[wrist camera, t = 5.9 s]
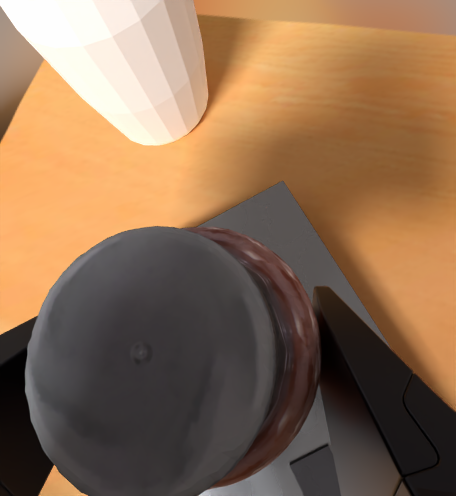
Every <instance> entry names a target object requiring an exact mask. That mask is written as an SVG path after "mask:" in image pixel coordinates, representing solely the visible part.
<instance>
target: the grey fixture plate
mask: <svg viewBox="0 0 456 496" xmlns="http://www.w3.org/2000/svg"><path fill="white" fill-rule="evenodd" d="M198 227H218V228H224V229H230V230H232V231H235V232H238V233H241V234H245V235H247V236H249V237H251V238H253V239H255V240H257V241H259V242H261V243H262V244H263V245H265V246H266V247H267V248H269V249H270V250H271V251H273V252H274V253H275V254H277V255H278V256H279V257H280V258H281V259H282V260H283V261H285V262H286V264H287V265H288V266H289V267H290V268H291V269H292V270H293V272H294V273H295V275H296V276H297V277H298V279H299V281H300V282H301V284H302V286H303V288H304V289H305V291H306V293H307V294H308V297H309V299H310V301H311V304H312V301H313V290H314V287H315V286H328V287H330V288H331V289H332V290H333V291H334V292H335V293H336V294H337V295H338V296H339V297H340V298H341V299H342V300H343V301H344V302H345V303H346V304H347V305H348V306H349V307H350V308H351V309H352V310H353V311H354V312H355V313H356V314H357V315H358V316H359V317H360V318H361V319H362V320H363V321H364V322H365V323H366V324H367V325H368V326H369V327H370V328H371V329H372V330H373V331H374V332H375V333H376V334H377V335H378V336H379V337H380V338H381V339H382V340H383V341H384V342H385V343H386V344H387V345H388V346H389V344H388V343H387V341H386V340H385V338H384V336H383V335H382V333H381V332H380V330H379V329H378V327H377V326H376V324H375V323H374V321H373V319H372V318H371V316H370V315H369V313H368V312H367V310H366V309H365V307H364V305H363V304H362V302H361V301H360V299H359V298H358V296H357V295H356V293H355V291H354V290H353V288H352V287H351V285H350V284H349V282H348V281H347V279H346V278H345V276H344V274H343V273H342V271H341V270H340V268H339V267H338V265H337V264H336V262H335V260H334V259H333V257H332V256H331V254H330V253H329V251H328V250H327V248H326V247H325V245H324V243H323V242H322V240H321V239H320V237H319V236H318V234H317V233H316V231H315V229H314V228H313V226H312V225H311V223H310V222H309V220H308V219H307V217H306V216H305V214H304V212H303V211H302V209H301V208H300V206H299V205H298V203H297V202H296V200H295V198H294V197H293V195H292V194H291V192H290V191H289V189H288V188H287V186H286V185H285V183H284V181H281V182H279V183H278V184H276V185H274V186H272V187H270V188H268V189H266V190H265V191H263V192H261V193H259V194H257V195H255V196H253V197H252V198H250V199H248V200H246V201H244V202H242V203H240V204H239V205H237V206H235V207H233V208H231V209H229V210H227V211H226V212H224V213H222V214H220V215H218V216H216V217H214V218H212V219H211V220H209V221H207V222H205V223H203V224H201V225H199V226H198ZM389 347H390V346H389ZM390 348H391V347H390ZM198 496H341V493H340V488H339V482H338V477H337V472H336V467H335V462H334V457H333V452H332V447H331V442H330V437H329V432H328V426H327V421H326V416H325V411H324V406H323V401H322V396H321V391H320V386H319V385H318V389H317V393H316V397H315V400H314V403H313V406H312V408H311V410H310V412H309V414H308V416H307V419H306V420H305V422H304V424H303V426H302V428H301V430H300V431H299V433H298V434H297V435H296V437H295V438H294V439H293V440H292V442H291V443H290V444H289V446H288V447H287V448H286V449H285V450H284V451H283V452H282V453H281V454H280V455H279V456H278V457H277V458H276V459H275V460H274V461H273V462H272V463H271V464H269V465H268V466H266V467H265V468H263V469H262V470H260V471H259V472H257V473H256V474H254V475H252V476H250V477H248V478H246V479H244V480H242V481H239V482H237V483H234V484H231V485H228V486H225V487H218V488H213V489H209V490H206V491H204V492H203V493H201V494H200V495H198Z"/></svg>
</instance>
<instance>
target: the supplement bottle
mask: <svg viewBox="0 0 456 496" xmlns="http://www.w3.org/2000/svg"><path fill="white" fill-rule="evenodd" d="M27 353H28V356H27V362H26V369H25V393H26V396H27V399H28V404H29V410H30V418H31V422H32V424H33V426H34V429H35V431H36V434H37V436H38V439H39V441H40V444H41V446H42V448H43V451H44V452H45V453H46V455H47V456H48V458H49V459H50V460H51V461H52V462H53V464H54V465H55V466H56V467H57V469H58V471H59V473H61V474H62V475H63V476H64V477H65V478H66V479H67V480H68V481H69V482H70V483H71V484H72V485H74V486H75V487H76V488H77V489H78V490H79V491H80V492H81V493H84V494H86V495H88V496H198V495H200V494H201V493H203V492H204V491H206V490H209V489H213V488H218V487H225V486H228V485H231V484H234V483H237V482H239V481H242V480H244V479H246V478H248V477H250V476H252V475H254V474H256V473H257V472H259V471H260V470H262V469H263V468H265V467H266V466H268V465H269V464H271V463H272V462H273V461H274V460H275V459H276V458H277V457H278V456H279V455H280V454H281V453H282V452H283V451H284V450H285V449H286V448H287V447H288V446H289V444H290V443H291V442H292V440H293V439H294V438H295V437H296V435H297V434H298V433H299V431H300V430H301V428H302V426H303V424H304V422H305V420H306V419H307V416H308V414H309V412H310V410H311V408H312V406H313V403H314V400H315V397H316V393H317V389H318V385H319V378H320V374H321V361H322V348H321V337H320V331H319V325H318V322H317V318H316V315H315V313H314V310H313V307H312V304H311V301H310V299H309V297H308V294H307V293H306V291H305V289H304V288H303V286H302V284H301V282H300V281H299V279H298V277H297V276H296V275H295V273H294V272H293V270H292V269H291V268H290V267H289V266H288V265H287V264H286V262H285V261H283V260H282V259H281V258H280V257H279V256H278V255H277V254H275V253H274V252H273V251H271V250H270V249H269V248H267V247H266V246H265V245H263V244H262V243H261V242H259V241H257V240H255V239H253V238H251V237H249V236H247V235H245V234H241V233H238V232H235V231H232V230H230V229H224V228H218V227H192V228H182V229H179V228H175V227H160V226H155V227H145V228H139V229H132V230H128V231H124V232H121V233H118V234H116V235H114V236H111V237H109V238H107V239H105V240H103V241H102V242H100V243H98V244H97V245H95V246H94V247H92V248H91V249H89V250H88V251H87V252H86V253H84V254H82V255H80V256H79V257H78V258H77V259H76V260H75V261H74V262H73V263H72V264H71V265H70V266H69V267H68V268H67V269H66V270H65V271H64V272H63V273H62V275H61V276H60V277H59V279H58V280H57V281H56V283H55V284H54V285H53V286H52V288H51V289H50V290H49V293H48V295H47V297H46V299H45V300H44V302H43V305H42V307H41V309H40V312H39V315H38V317H37V320H36V322H35V325H34V328H33V330H32V337H31V339H30V341H29V343H28V348H27Z"/></svg>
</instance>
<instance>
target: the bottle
mask: <svg viewBox="0 0 456 496" xmlns="http://www.w3.org/2000/svg"><path fill="white" fill-rule="evenodd" d="M0 6H1V7H2V9H3V10H4V11H5V13H6V14H7V16H8V17H9V19H10V20H11V22H12V23H13V25H14V26H15V27H16V29H17V30H18V31H19V32H20V33H21V34H22V35H23V36H24V37H25V38H26V40H27V41H28V42H29V43H30V44H31V45H32V46H33V47H34V48H35V49H36V50H37V51H38V52H39V53H40V54H41V55H42V56H43V57H44V59H45V60H46V61H47V62H48V63H49V64H50V65H51V66H52V67H53V68H54V69H55V70H56V71H57V72H58V73H59V74H60V75H61V77H62V78H63V79H64V80H65V81H66V82H67V83H68V84H69V85H70V86H71V87H72V88H73V89H74V90H75V91H76V92H77V93H78V94H79V96H80V97H81V98H83V99H84V100H85V101H86V102H87V103H88V104H89V105H91V106H92V107H93V108H94V109H95V110H96V111H98V112H99V113H100V114H101V115H102V116H103V117H104V118H106V119H107V120H108V121H109V122H110V123H111V124H113V125H114V126H115V127H116V128H117V129H118V130H120V131H121V132H122V133H123V134H124V135H125V136H127V137H128V138H129V139H130V140H131V141H134V142H137V143H140V144H143V145H164V144H168V143H172V142H175V141H177V140H179V139H180V138H182V137H184V136H186V135H187V134H188V133H189V132H190V131H191V130H192V129H193V128H194V127H195V126H196V125H197V124H198V123H199V121H200V119H201V117H202V115H203V114H204V112H205V110H206V107H207V101H208V87H207V78H206V69H205V60H204V51H203V43H202V38H201V33H200V29H199V24H198V20H197V15H196V11H195V6H194V1H193V0H0Z"/></svg>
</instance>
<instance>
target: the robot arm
mask: <svg viewBox="0 0 456 496" xmlns="http://www.w3.org/2000/svg"><path fill="white" fill-rule="evenodd" d="M312 307H313V310H314V313H315V315H316V318H317V322H318V325H319V331H320V337H321V348H322V361H321V374H320V378H319V386H320V391H321V396H322V401H323V406H324V411H325V416H326V421H327V426H328V432H329V437H330V442H331V447H332V452H333V457H334V462H335V467H336V472H337V477H338V482H339V488H340V493H341V496H456V411H455V410H453V409H452V408H451V407H450V406H449V405H448V404H447V403H446V402H445V401H444V400H443V399H442V398H441V397H440V396H439V395H438V394H436V393H435V392H434V391H433V390H432V389H431V388H430V387H429V386H428V385H427V384H426V383H425V382H424V381H423V380H422V379H421V378H420V377H419V376H418V375H417V374H416V373H413V370H412V369H411V368H410V367H409V366H408V365H407V364H406V363H405V362H404V361H403V360H402V359H401V358H400V357H399V356H398V355H397V354H396V353H395V352H394V351H393V350H392V349H391V348H390V347H389V346H388V345H387V344H386V343H385V342H384V341H383V340H382V339H381V338H380V337H379V336H378V335H377V334H376V333H375V332H374V331H373V330H372V329H371V328H370V327H369V326H368V325H367V324H366V323H365V322H364V321H363V320H362V319H361V318H360V317H359V316H358V315H357V314H356V313H355V312H354V311H353V310H352V309H351V308H350V307H349V306H348V305H347V304H346V303H345V302H344V301H343V300H342V299H341V298H340V297H339V296H338V295H337V294H336V293H335V292H334V291H333V290H332V289H331V288H330V287H328V286H315V287H314V290H313V301H312ZM37 317H38V316H36V317H34V318H32V319H30V320H28V321H26V322H25V323H23V324H21V325H19V326H17V327H15V328H13V329H11V330H9V331H7V332H5V333H3V334H1V335H0V496H39V494H40V492H41V490H42V488H43V486H44V484H45V482H46V480H47V478H48V476H49V474H50V472H51V470H52V468H53V466H54V464H53V462H52V461H51V460H50V459H49V458H48V456H47V455H46V453H45V452H44V451H43V448H42V446H41V444H40V441H39V439H38V436H37V434H36V431H35V429H34V426H33V424H32V422H31V418H30V410H29V404H28V399H27V396H26V393H25V369H26V362H27V356H28V353H27V348H28V343H29V341H30V339H31V337H32V330H33V328H34V325H35V322H36V320H37Z"/></svg>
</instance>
